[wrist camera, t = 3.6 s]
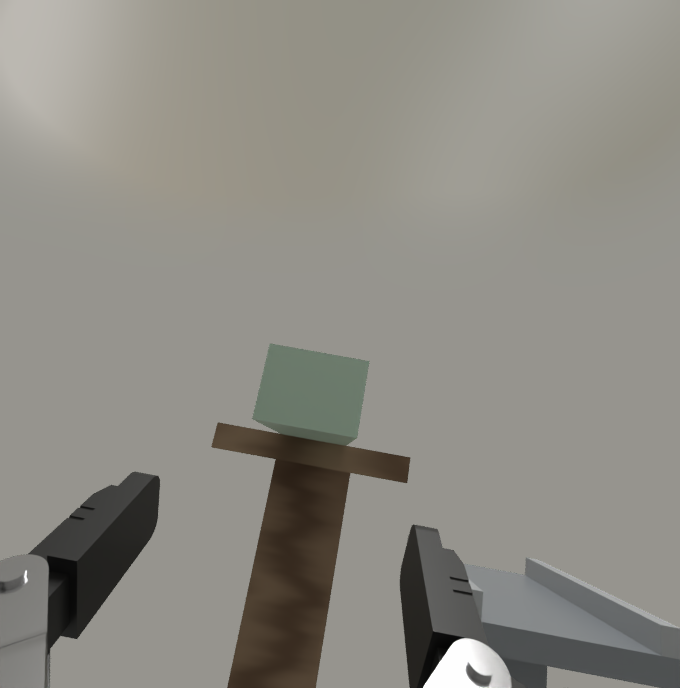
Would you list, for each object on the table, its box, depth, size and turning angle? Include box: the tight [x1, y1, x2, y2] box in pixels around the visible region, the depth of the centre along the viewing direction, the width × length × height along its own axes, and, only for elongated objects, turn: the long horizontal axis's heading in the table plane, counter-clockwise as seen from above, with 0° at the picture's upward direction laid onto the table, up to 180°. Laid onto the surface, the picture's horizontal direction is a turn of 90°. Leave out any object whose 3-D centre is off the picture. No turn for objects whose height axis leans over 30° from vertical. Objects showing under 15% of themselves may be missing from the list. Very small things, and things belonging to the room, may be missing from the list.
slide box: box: [252, 344, 369, 446], centre depth 28 cm, size 4×26×3 cm, turn 2°
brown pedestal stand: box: [212, 423, 410, 688], centre depth 28 cm, size 14×16×32 cm
